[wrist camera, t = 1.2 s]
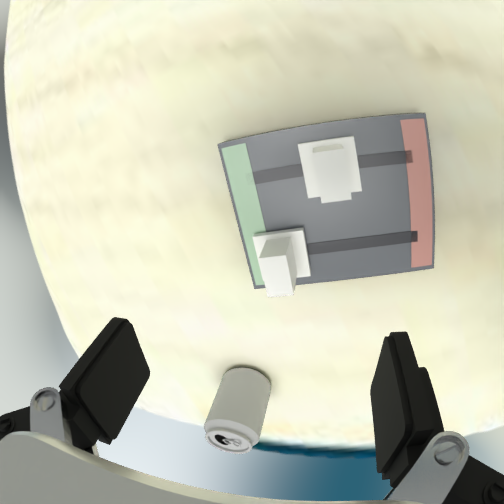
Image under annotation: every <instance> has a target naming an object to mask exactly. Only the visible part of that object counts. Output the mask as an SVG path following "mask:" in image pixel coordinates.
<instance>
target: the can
mask: <svg viewBox="0 0 504 504" xmlns="http://www.w3.org/2000/svg"><path fill="white" fill-rule="evenodd" d="M270 391H271V384H270V382H269V381H268V379H267V378H266V377H265V376H264V375H262V374H261V373H260V372H258V371H256V370H254V369H251V368H244V367H242V368H235V369H231V370H229V371H227V372H226V373H225V374H224V376H223V378H222V381H221V383H220V386H219V389H218V391H217V394H216V396H215V399H214V401H213V404H212V407H211V409H210V412H209V414H208V417H207V419H206V422H205V425H204V429H205V432H206V436H205V438H206V440H207V442H208V443H209V444H210V445H212V446H214V447H215V448H217V449H219V450H221V451H225V452H228V453H234V454H242V453H247V452H249V451H250V450H251V449H252V446H253V445H255V444H257V443H258V441H259V438H260V434H261V430H262V426H263V421H264V417H265V413H266V409H267V404H268V400H269V396H270Z"/></svg>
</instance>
